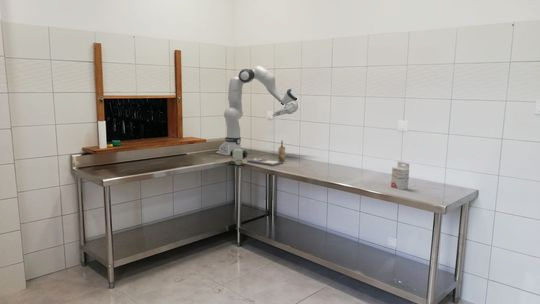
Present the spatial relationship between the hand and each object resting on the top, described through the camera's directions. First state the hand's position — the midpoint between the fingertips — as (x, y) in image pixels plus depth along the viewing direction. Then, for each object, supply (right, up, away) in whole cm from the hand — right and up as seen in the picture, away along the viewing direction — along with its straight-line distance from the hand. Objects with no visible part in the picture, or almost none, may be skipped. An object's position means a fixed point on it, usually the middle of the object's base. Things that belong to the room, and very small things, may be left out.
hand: (276, 115), depth 319 cm
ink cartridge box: (+70, -50, -82) cm, 118 cm away
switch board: (-9, -37, -13) cm, 40 cm away
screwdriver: (+4, -36, -6) cm, 37 cm away
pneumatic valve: (-28, -38, -21) cm, 52 cm away
